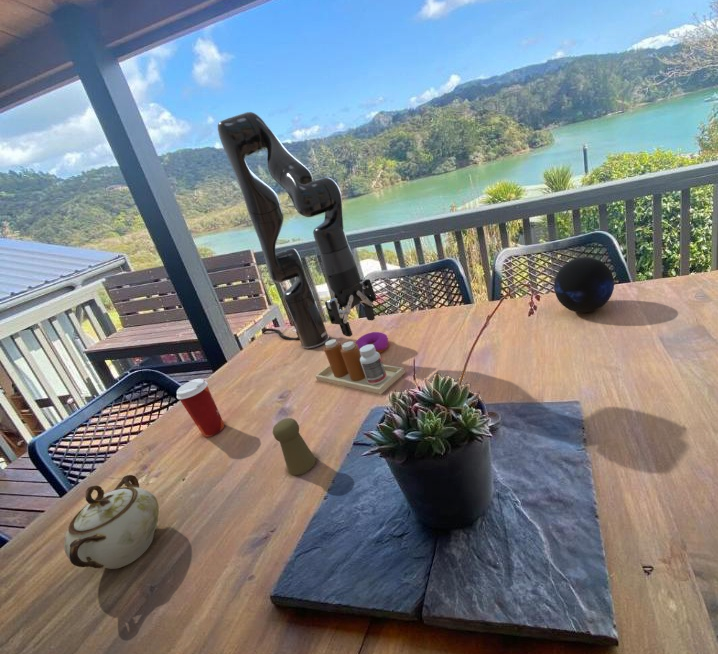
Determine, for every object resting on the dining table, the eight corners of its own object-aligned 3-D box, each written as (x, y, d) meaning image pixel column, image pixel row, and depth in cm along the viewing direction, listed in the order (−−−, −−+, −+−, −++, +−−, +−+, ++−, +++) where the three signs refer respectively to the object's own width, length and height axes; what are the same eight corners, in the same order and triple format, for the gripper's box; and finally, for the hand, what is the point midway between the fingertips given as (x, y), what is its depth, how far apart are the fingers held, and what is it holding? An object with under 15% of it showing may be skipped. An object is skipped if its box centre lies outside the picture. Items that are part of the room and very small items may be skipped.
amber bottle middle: (347, 379, 119) (335, 347, 115) (358, 370, 123) (347, 339, 119) (359, 382, 116) (347, 349, 112) (370, 372, 120) (360, 340, 116)
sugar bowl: (120, 517, 91) (82, 463, 85) (188, 499, 91) (154, 443, 85) (60, 609, 73) (5, 548, 67) (144, 586, 73) (97, 523, 67)
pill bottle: (390, 378, 114) (380, 345, 110) (373, 388, 112) (362, 355, 108) (380, 372, 118) (370, 340, 115) (364, 381, 116) (353, 349, 112)
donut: (356, 361, 129) (351, 348, 127) (359, 346, 139) (355, 334, 137) (390, 353, 128) (385, 340, 127) (390, 339, 138) (386, 326, 136)
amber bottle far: (330, 376, 124) (318, 345, 120) (342, 367, 127) (331, 337, 123) (341, 378, 121) (330, 346, 117) (353, 369, 124) (342, 338, 120)
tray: (317, 381, 124) (314, 375, 124) (341, 363, 131) (339, 357, 130) (381, 395, 108) (379, 389, 107) (405, 374, 115) (403, 367, 114)
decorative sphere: (575, 296, 131) (570, 248, 125) (626, 302, 119) (623, 249, 113) (546, 317, 123) (539, 267, 117) (597, 326, 111) (592, 271, 106)
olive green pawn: (286, 462, 94) (267, 421, 89) (313, 450, 95) (295, 410, 91) (289, 479, 88) (269, 437, 84) (317, 466, 90) (299, 424, 85)
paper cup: (234, 419, 117) (211, 376, 111) (216, 439, 110) (191, 393, 105) (211, 421, 119) (188, 378, 114) (192, 440, 113) (167, 395, 107)
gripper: (349, 256, 110) (368, 314, 116) (308, 279, 100) (330, 340, 107) (371, 255, 105) (388, 315, 111) (329, 279, 95) (351, 342, 102)
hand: (360, 327), depth 109 cm, fingers open, 8 cm apart
